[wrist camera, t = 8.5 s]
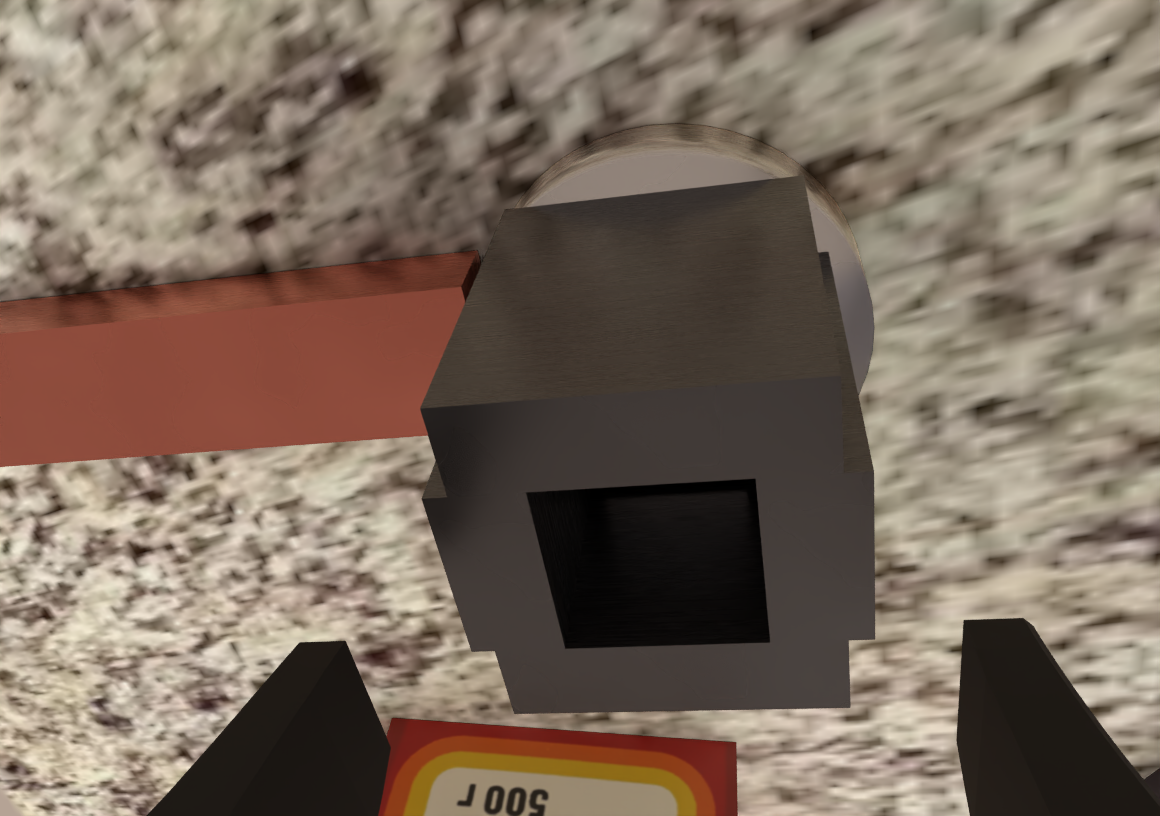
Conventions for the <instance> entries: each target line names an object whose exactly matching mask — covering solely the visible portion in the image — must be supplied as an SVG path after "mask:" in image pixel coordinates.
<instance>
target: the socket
mask: <svg viewBox="0 0 1160 816" xmlns="http://www.w3.org/2000/svg"><path fill="white" fill-rule="evenodd" d="M420 411H421V414H422V417H423V420H424V424H425V427H426V430H427V433H428V437H429V440H430V443H431V446H432V449H433V453H434V456H435V459H436V462H435V465H434V467H433V470H432V472H431V475H430V478H429V480H428V483H427V486H426V488H425V491H424V494H423V496H422V501H423V504H424V508H425V511H426V514H427V517H428V520H429V523H430V526H431V529H432V532H433V535H434V538H435V541H436V544H437V547H438V550H439V553H440V556H441V559H442V562H443V566H444V569H445V572H446V575H447V578H448V581H449V584H450V587H451V590H452V593H453V596H454V599H455V602H456V605H457V608H458V611H459V614H460V617H461V620H462V623H463V627H464V630H465V633H466V636H467V639H468V642H469V645H470V648H471V651H472V652H478V651H495V653H496V656H497V660H498V663H499V666H500V669H501V673H502V676H503V679H504V682H505V686H506V689H507V692H508V695H509V698H510V702H511V705H512V708H513V711H514V714H534V713H588V712H643V711H698V710H753V709H808V708H850V675H849V640H873V639H875V555H874V469H873V465H872V460H871V455H870V450H869V445H868V440H867V436H866V431H865V426H864V421H863V416H862V411H861V407H860V402H859V397H858V392H857V387H856V382H855V377H854V373H853V368H852V363H851V358H850V353H849V348H848V344H847V339H846V334H845V329H844V324H843V319H842V315H841V310H840V305H839V300H838V295H837V290H836V286H835V281H834V276H833V271H832V266H831V261H830V257H829V252H818V250H817V244H816V239H815V233H814V228H813V223H812V217H811V212H810V207H809V201H808V196H807V191H806V185H805V180H804V175H801V176H792V177H784V178H775V179H767V180H758V181H749V182H741V183H732V184H723V185H714V186H706V187H697V188H688V189H680V190H671V191H662V192H654V193H645V194H636V195H628V196H619V197H610V198H602V199H593V200H584V201H576V202H567V203H558V204H550V205H541V206H532V207H524V208H515V209H506V210H505V211H504V213H503V215H502V218H501V220H500V222H499V225H498V227H497V229H496V232H495V234H494V236H493V239H492V241H491V243H490V246H489V248H488V251H487V253H486V255H485V258H484V260H483V262H482V265H481V267H480V269H479V272H478V274H477V276H476V279H475V281H474V283H473V286H472V288H471V290H470V293H469V295H468V297H467V300H466V302H465V304H464V307H463V309H462V311H461V314H460V316H459V318H458V321H457V323H456V325H455V328H454V330H453V332H452V335H451V337H450V339H449V342H448V344H447V346H446V349H445V351H444V353H443V356H442V358H441V360H440V363H439V365H438V367H437V370H436V372H435V374H434V377H433V379H432V381H431V384H430V386H429V389H428V391H427V393H426V396H425V398H424V400H423V403H422V405H421V407H420Z"/></svg>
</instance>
